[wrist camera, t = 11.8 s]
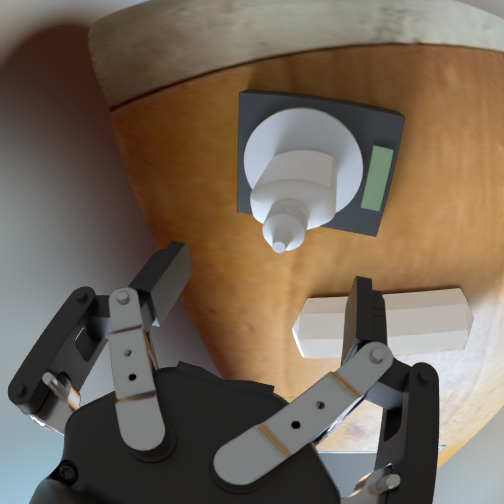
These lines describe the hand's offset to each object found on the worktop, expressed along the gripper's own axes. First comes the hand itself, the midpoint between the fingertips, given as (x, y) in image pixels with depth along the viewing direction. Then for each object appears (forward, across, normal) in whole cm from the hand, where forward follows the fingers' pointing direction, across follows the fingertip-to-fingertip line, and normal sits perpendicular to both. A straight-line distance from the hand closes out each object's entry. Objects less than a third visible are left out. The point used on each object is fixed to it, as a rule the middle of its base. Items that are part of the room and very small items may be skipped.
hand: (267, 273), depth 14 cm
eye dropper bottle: (+14, 0, 0) cm, 14 cm away
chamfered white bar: (+17, -13, +18) cm, 28 cm away
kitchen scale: (+17, -1, 0) cm, 17 cm away
